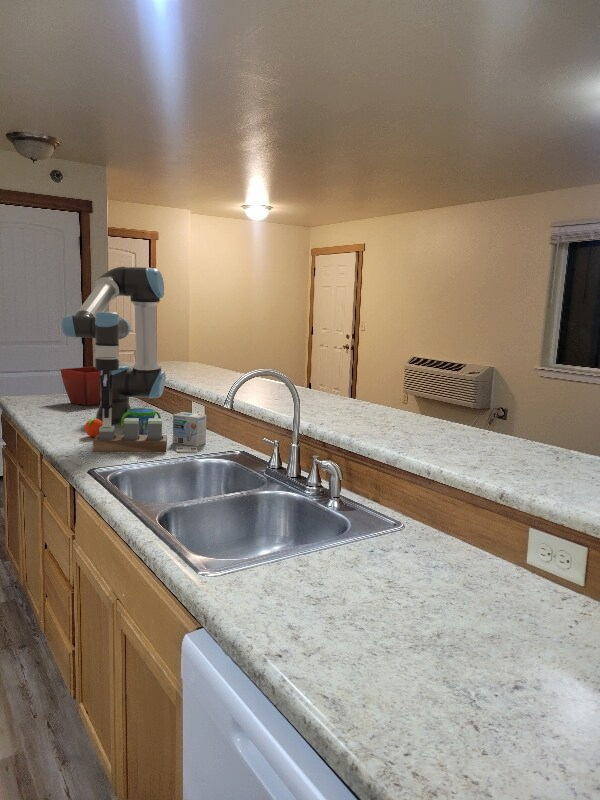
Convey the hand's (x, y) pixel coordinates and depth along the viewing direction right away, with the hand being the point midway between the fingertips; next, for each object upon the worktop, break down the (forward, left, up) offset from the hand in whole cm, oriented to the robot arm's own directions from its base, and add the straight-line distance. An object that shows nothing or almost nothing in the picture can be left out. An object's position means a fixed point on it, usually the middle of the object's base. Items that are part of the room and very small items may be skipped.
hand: (107, 426), depth 205 cm
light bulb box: (-10, +28, -8) cm, 31 cm away
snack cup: (-21, +10, -8) cm, 25 cm away
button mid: (0, +8, -4) cm, 9 cm away
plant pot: (-96, -20, -8) cm, 98 cm away
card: (+2, +27, -8) cm, 28 cm away
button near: (0, 0, -7) cm, 7 cm away
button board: (0, +8, -8) cm, 11 cm away
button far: (0, +16, -4) cm, 17 cm away
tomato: (-19, -7, -8) cm, 22 cm away
